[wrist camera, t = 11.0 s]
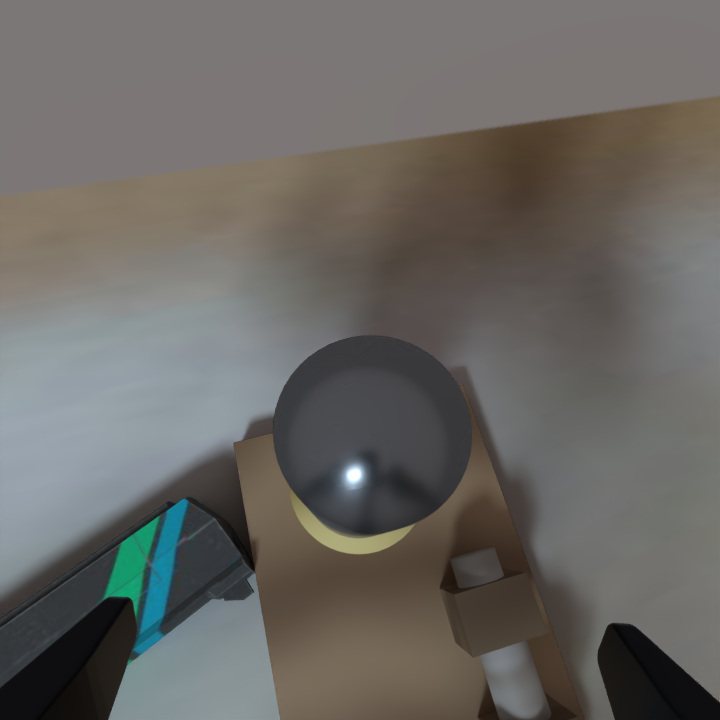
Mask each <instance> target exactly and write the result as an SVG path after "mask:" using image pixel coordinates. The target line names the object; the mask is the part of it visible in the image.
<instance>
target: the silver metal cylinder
mask: <svg viewBox="0 0 720 720" xmlns="http://www.w3.org/2000/svg"><path fill="white" fill-rule="evenodd" d="M273 441H274V449H275V454H276V458H277V462H278V464H279V467H280V469H281V472H282V474H283V476H284V478H285V480H286V482H287V483H288V485H289V487H290V488H291V489H292V491H293V492H294V493H295V495H296V496H297V497H298V498H299V499H300V500H301V502H302V503H303V504H304V505H305V506H306V507H307V508H308V509H309V510H310V512H311V513H312V514H313V515H314V516H315V517H316V518H317V519H318V520H319V521H320V522H321V523H322V524H323V525H324V526H325V527H326V528H327V529H329V530H330V531H332V532H334V533H336V534H338V535H341V536H344V537H348V538H356V539H359V538H368V537H373V536H376V535H380V534H384V533H387V532H391V531H394V530H398V529H401V528H404V527H407V526H410V525H413V524H415V523H417V522H419V521H421V520H423V519H425V518H426V517H428V516H429V515H431V514H432V513H434V512H435V511H436V510H438V509H439V508H440V507H441V506H442V505H443V504H444V503H445V502H446V501H447V500H448V499H449V498H450V496H451V495H452V494H453V493H454V491H455V490H456V488H457V487H458V485H459V483H460V482H461V480H462V478H463V475H464V473H465V471H466V469H467V465H468V462H469V458H470V454H471V447H472V425H471V417H470V413H469V409H468V406H467V403H466V400H465V398H464V395H463V393H462V391H461V389H460V388H459V386H458V384H457V382H456V381H455V380H454V378H453V377H452V375H451V374H450V373H449V372H448V371H447V369H446V368H445V367H444V366H443V365H442V364H441V363H440V362H439V361H437V360H436V359H435V358H434V357H433V356H431V355H430V354H428V353H427V352H425V351H424V350H422V349H420V348H418V347H416V346H414V345H412V344H410V343H407V342H405V341H402V340H399V339H395V338H390V337H384V336H358V337H351V338H347V339H343V340H339V341H337V342H334V343H332V344H329V345H327V346H325V347H324V348H322V349H320V350H318V351H317V352H315V353H314V354H312V355H311V356H310V357H308V358H307V359H306V360H305V361H304V362H303V363H302V364H301V365H300V366H299V367H298V368H297V369H296V370H295V371H294V373H293V374H292V375H291V377H290V378H289V380H288V381H287V383H286V384H285V386H284V388H283V390H282V392H281V395H280V397H279V400H278V403H277V406H276V409H275V415H274V421H273Z"/></svg>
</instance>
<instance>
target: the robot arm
mask: <svg viewBox="0 0 720 720" xmlns="http://www.w3.org/2000/svg"><path fill="white" fill-rule="evenodd" d="M136 636H137V623H136V617H135V611H134V605H133V601H132V599H131V598H130V597H119V596H111V597H108V598H106V599H104V600H103V601H102V602H101V603H99V604H98V605H97V606H96V607H95V608H94V609H92V610H91V611H90V612H89V613H88V614H86V615H85V616H84V617H83V618H82V619H80V620H79V621H78V622H77V623H76V624H75V625H73V626H72V627H71V628H70V629H69V630H67V631H66V632H65V633H64V634H63V635H61V636H60V637H59V638H58V639H57V640H56V641H54V642H53V643H52V644H51V645H50V646H48V647H47V648H46V649H45V650H44V651H42V652H41V653H40V654H39V655H38V656H37V657H35V658H34V659H33V660H32V661H31V662H29V663H28V664H27V665H26V666H25V667H23V668H22V669H21V670H20V671H19V672H18V673H16V674H15V675H14V676H13V677H12V678H10V679H9V680H8V681H7V682H6V683H4V684H3V685H2V686H1V687H0V720H108V719H109V716H110V713H111V710H112V707H113V704H114V701H115V698H116V695H117V693H118V690H119V687H120V684H121V681H122V678H123V675H124V672H125V669H126V667H127V664H128V661H129V658H130V655H131V652H132V649H133V646H134V643H135V640H136ZM598 665H599V668H600V672H601V675H602V678H603V682H604V685H605V688H606V692H607V695H608V698H609V702H610V705H611V708H612V712H613V715H614V718H615V720H720V702H719V701H718V700H716V699H715V698H714V697H713V696H712V695H711V694H710V693H709V692H708V691H706V690H705V689H704V688H703V687H702V686H701V685H700V684H699V683H698V682H696V681H695V680H694V679H693V678H692V677H691V676H690V675H689V674H688V673H686V672H685V671H684V670H683V669H682V668H681V667H680V666H679V665H678V664H676V663H675V662H674V661H673V660H672V659H671V658H670V657H669V656H668V655H667V654H665V653H664V652H663V651H662V650H661V649H660V648H659V647H658V646H657V645H655V644H654V643H653V642H652V641H651V640H650V639H649V638H648V637H647V636H645V635H644V634H643V633H642V632H641V631H640V630H639V629H638V628H636V627H635V626H633V625H631V624H624V623H611V624H609V625H608V626H607V628H606V631H605V634H604V636H603V639H602V642H601V644H600V647H599V649H598Z"/></svg>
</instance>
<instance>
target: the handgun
mask: <svg viewBox="0 0 720 720" xmlns="http://www.w3.org/2000/svg"><path fill="white" fill-rule="evenodd" d="M254 573H255V567H254V563H253V562H252V560H251V559H250V558H249V556H248V555H247V553H246V551H245V549H244V547H243V546H242V544H241V542H240V540H239V538H238V536H237V535H236V533H235V532H234V530H233V528H232V527H231V525H230V524H229V523H228V522H227V521H226V520H224V519H223V518H221V517H220V516H219V515H217V514H216V513H214V512H213V511H211V510H210V509H208V508H207V507H205V506H204V505H203V504H201V503H200V502H198V501H197V500H195V499H193V498H191V497H187V498H184V499H183V500H181V501H180V502H178V503H177V504H175V503H172V502H169V501H168V502H167V503H165V504H164V505H162V506H161V507H160V508H158V509H157V510H155V511H154V512H152V513H151V514H150V515H148V516H147V517H145V518H144V519H142V520H141V521H140V522H138V523H137V524H135V525H134V526H132V527H131V528H129V529H128V530H127V531H125V532H124V533H122V534H121V535H119V536H118V537H117V538H115V539H114V540H112V541H111V542H109V543H108V544H107V545H105V546H104V547H102V548H101V549H99V550H98V551H97V552H95V553H94V554H92V555H91V556H89V557H88V558H87V559H85V560H84V561H82V562H81V563H79V564H78V565H77V566H75V567H74V568H72V569H71V570H69V571H68V572H67V573H65V574H64V575H62V576H61V577H59V578H58V579H57V580H55V581H54V582H52V583H51V584H49V585H48V586H47V587H45V588H44V589H42V590H41V591H39V592H38V593H37V594H35V595H34V596H32V597H31V598H29V599H28V600H27V601H25V602H24V603H22V604H21V605H19V606H18V607H17V608H15V609H14V610H12V611H11V612H9V613H8V614H6V615H5V616H4V617H2V618H1V619H0V687H1V686H2V685H3V684H4V683H6V682H7V681H8V680H9V679H10V678H12V677H13V676H14V675H15V674H16V673H18V672H19V671H20V670H21V669H22V668H23V667H25V666H26V665H27V664H28V663H29V662H31V661H32V660H33V659H34V658H35V657H37V656H38V655H39V654H40V653H41V652H42V651H44V650H45V649H46V648H47V647H48V646H50V645H51V644H52V643H53V642H54V641H56V640H57V639H58V638H59V637H60V636H61V635H63V634H64V633H65V632H66V631H67V630H69V629H70V628H71V627H72V626H73V625H75V624H76V623H77V622H78V621H79V620H80V619H82V618H83V617H84V616H85V615H86V614H88V613H89V612H90V611H91V610H92V609H94V608H95V607H96V606H97V605H98V604H99V603H101V602H102V601H103V600H104V599H106V598H108V597H111V596H119V597H130V598H131V599H132V601H133V605H134V611H135V617H136V623H137V636H136V640H135V643H134V646H133V649H132V652H131V655H130V658H129V661H128V664H129V663H131V662H132V661H133V660H134V659H136V658H137V657H138V656H140V655H141V654H142V653H143V652H145V651H146V650H147V649H148V648H150V647H151V646H152V645H154V644H155V643H156V642H157V641H159V640H160V639H161V638H163V637H164V636H165V635H166V634H168V633H169V632H170V631H171V630H173V629H174V628H175V627H177V626H178V625H179V624H180V623H182V622H183V621H184V620H186V619H187V618H188V617H189V616H191V615H192V614H193V613H194V612H196V611H197V610H198V609H200V608H201V607H202V606H203V605H205V604H206V603H207V602H209V601H210V600H211V599H222V598H224V600H225V601H227V600H244V599H246V598H247V597H248V596H249V595H251V594H252V593H253V592H254V591H253V589H252V587H251V586H250V584H249V583H248V581H247V578H249V577H250V576H251V575H252V574H254ZM128 664H127V665H128Z"/></svg>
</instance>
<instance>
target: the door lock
mask: <svg viewBox="0 0 720 720" xmlns="http://www.w3.org/2000/svg"><path fill="white" fill-rule="evenodd" d="M459 388H460V389H461V391H462V393H463V395H464V398H465V400H466V403H467V406H468V409H469V413H470V417H471V425H472V447H471V454H470V458H469V462H468V465H467V469H466V471H465V473H464V475H463V478H462V480H461V482H460V483H459V485H458V487H457V488H456V490H455V491H454V493H453V494H452V495H451V496H450V498H449V499H448V500H447V501H446V502H445V503H444V504H443V505H442V506H441V507H440V508H439V509H438V510H436V511H435V512H434V513H432V514H431V515H429V516H428V517H426V518H425V519H423V520H421V521H419V522H417V523H415V524H413V525H410V526H407V527H404V528H401V529H398V530H394V531H391V532H387V533H384V534H380V535H376V536H373V537H368V538H359V539H356V538H348V537H344V536H341V535H338V534H336V533H334V532H332V531H330V530H329V529H327V528H326V527H325V526H324V525H323V524H322V523H321V522H320V521H319V520H318V519H317V518H316V517H315V516H314V515H313V514H312V513H311V512H310V510H309V509H308V508H307V507H306V506H305V505H304V504H303V503H302V502H301V500H300V499H299V498H298V497H297V496H296V495H295V493H294V492H293V491H292V489H291V488H290V487H289V485H288V483H287V482H286V480H285V478H284V476H283V474H282V472H281V469H280V467H279V464H278V462H277V458H276V454H275V449H274V441H273V433H271V434H267V435H263V436H259V437H255V438H251V439H247V440H242V441H238V442H234V443H233V444H234V450H235V455H236V461H237V467H238V473H239V479H240V485H241V491H242V497H243V503H244V508H245V514H246V520H247V526H248V532H249V538H250V544H251V550H252V555H253V561H254V567H255V573H256V579H257V585H258V591H259V597H260V603H261V608H262V614H263V620H264V626H265V632H266V638H267V644H268V650H269V656H270V661H271V667H272V673H273V679H274V685H275V691H276V697H277V703H278V708H279V714H280V720H585V719H584V716H583V714H582V711H581V708H580V705H579V703H578V700H577V697H576V694H575V692H574V689H573V686H572V683H571V681H570V678H569V675H568V672H567V670H566V667H565V664H564V661H563V659H562V656H561V653H560V650H559V648H558V645H557V642H556V639H555V637H554V634H553V631H552V628H551V626H550V623H549V620H548V617H547V615H546V612H545V609H544V606H543V604H542V601H541V598H540V595H539V593H538V590H537V587H536V584H535V582H534V579H533V576H532V573H531V571H530V568H529V565H528V562H527V560H526V557H525V554H524V551H523V549H522V546H521V543H520V540H519V537H518V535H517V532H516V529H515V526H514V524H513V521H512V518H511V515H510V513H509V510H508V507H507V504H506V502H505V499H504V496H503V493H502V491H501V488H500V485H499V482H498V480H497V477H496V474H495V471H494V469H493V466H492V463H491V460H490V458H489V455H488V452H487V449H486V447H485V444H484V441H483V438H482V436H481V433H480V430H479V427H478V425H477V422H476V419H475V416H474V414H473V411H472V408H471V405H470V403H469V400H468V397H467V394H466V392H465V389H464V386H459Z"/></svg>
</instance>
